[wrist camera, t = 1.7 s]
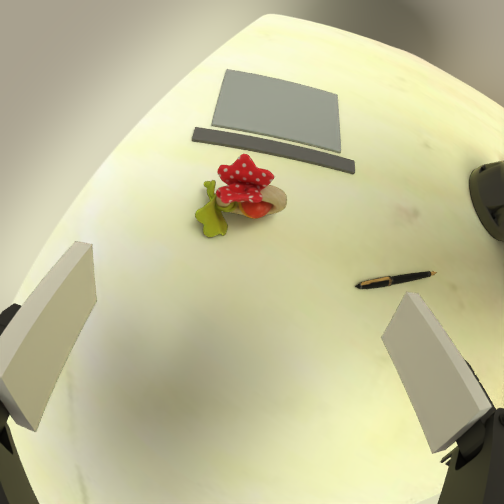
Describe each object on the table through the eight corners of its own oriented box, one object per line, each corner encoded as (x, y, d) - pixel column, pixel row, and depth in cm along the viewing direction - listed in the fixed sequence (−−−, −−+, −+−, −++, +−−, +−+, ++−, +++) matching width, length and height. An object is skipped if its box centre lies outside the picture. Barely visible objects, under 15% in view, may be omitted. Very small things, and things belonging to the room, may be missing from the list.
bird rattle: (250, 195, 39) (182, 183, 34) (310, 153, 30) (232, 128, 25) (254, 243, 37) (183, 236, 32) (321, 210, 28) (237, 192, 23)
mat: (347, 99, 44) (348, 97, 44) (353, 174, 40) (355, 172, 39) (213, 69, 41) (214, 66, 41) (191, 141, 37) (192, 138, 37)
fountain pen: (433, 269, 39) (440, 267, 37) (435, 277, 38) (441, 275, 37) (351, 282, 36) (357, 280, 34) (353, 292, 35) (359, 290, 34)
